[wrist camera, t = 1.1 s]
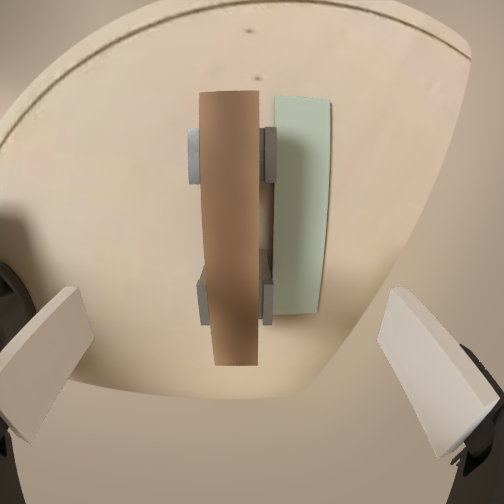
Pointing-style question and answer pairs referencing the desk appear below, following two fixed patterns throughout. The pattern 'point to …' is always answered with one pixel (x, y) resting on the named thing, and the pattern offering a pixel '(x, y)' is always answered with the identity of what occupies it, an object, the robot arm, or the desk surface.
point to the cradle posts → (265, 282)
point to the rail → (231, 221)
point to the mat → (300, 202)
